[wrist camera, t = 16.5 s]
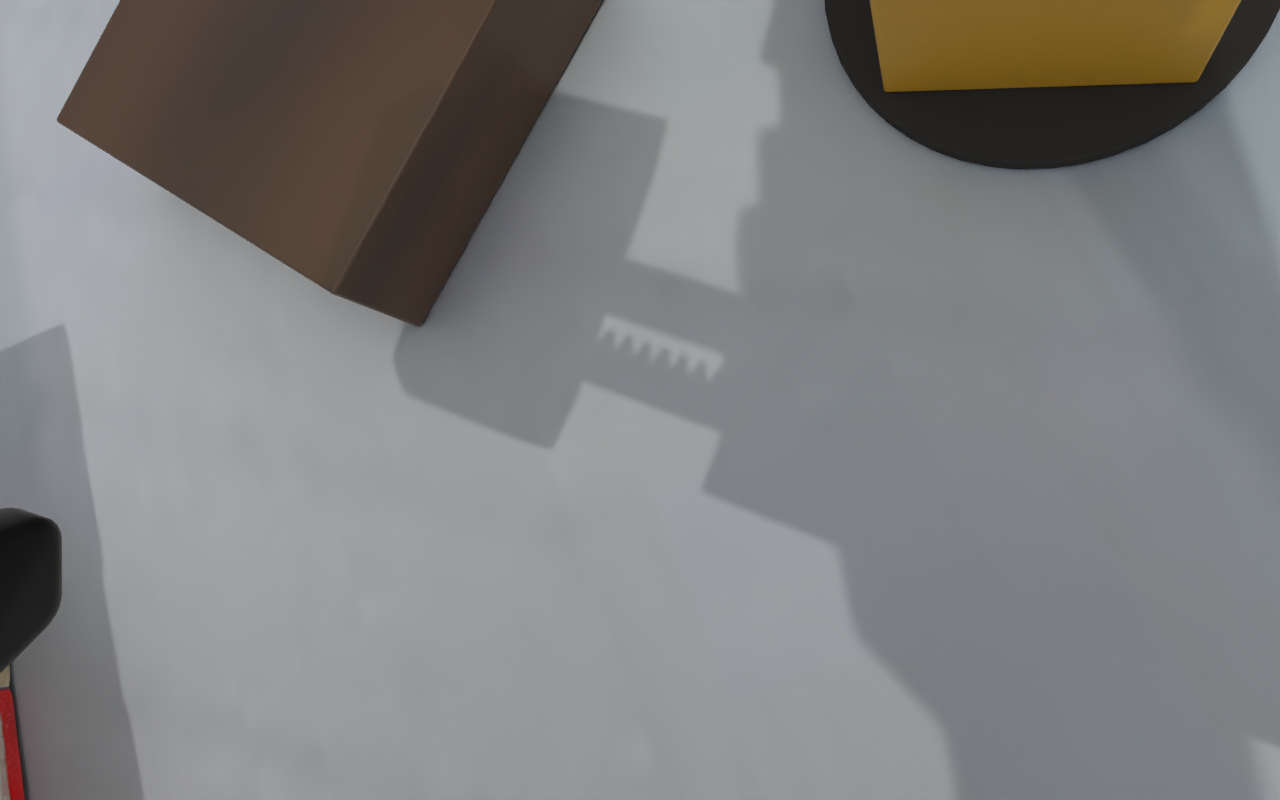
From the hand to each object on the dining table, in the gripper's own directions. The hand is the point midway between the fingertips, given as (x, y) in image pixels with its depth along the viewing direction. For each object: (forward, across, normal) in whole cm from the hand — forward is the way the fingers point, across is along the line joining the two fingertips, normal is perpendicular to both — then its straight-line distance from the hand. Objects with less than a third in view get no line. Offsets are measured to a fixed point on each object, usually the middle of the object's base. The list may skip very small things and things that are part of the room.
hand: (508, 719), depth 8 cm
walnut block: (+14, +9, -3) cm, 17 cm away
